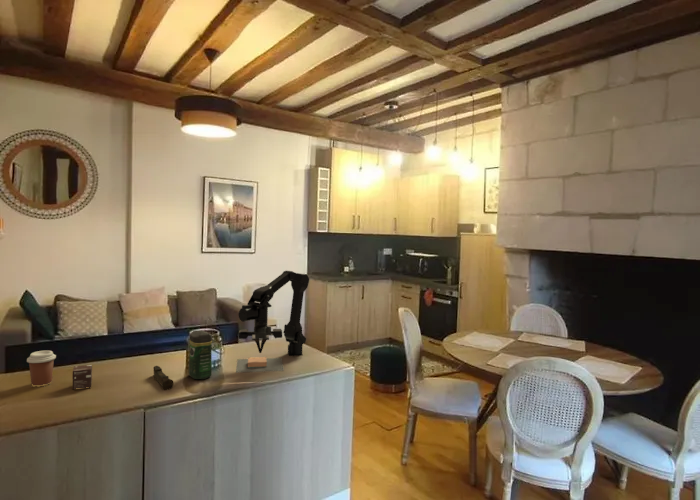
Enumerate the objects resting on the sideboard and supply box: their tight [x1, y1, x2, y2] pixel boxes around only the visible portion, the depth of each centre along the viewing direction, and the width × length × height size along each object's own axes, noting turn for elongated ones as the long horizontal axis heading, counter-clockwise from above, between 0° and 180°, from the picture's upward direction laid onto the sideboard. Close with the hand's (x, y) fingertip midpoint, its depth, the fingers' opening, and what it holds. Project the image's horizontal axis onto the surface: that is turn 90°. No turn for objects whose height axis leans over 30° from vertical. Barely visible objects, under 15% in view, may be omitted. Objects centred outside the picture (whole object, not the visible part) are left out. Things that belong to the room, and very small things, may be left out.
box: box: [72, 364, 93, 390], centre depth 165 cm, size 6×6×7 cm
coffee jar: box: [188, 329, 213, 380], centre depth 179 cm, size 10×8×19 cm
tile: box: [247, 356, 267, 368], centre depth 194 cm, size 2×7×8 cm
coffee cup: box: [26, 349, 57, 385], centre depth 166 cm, size 9×9×12 cm
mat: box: [235, 357, 284, 373], centre depth 195 cm, size 20×18×1 cm
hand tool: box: [153, 365, 174, 391], centre depth 172 cm, size 19×4×5 cm, turn 35°
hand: (260, 352), depth 194 cm, fingers closed
